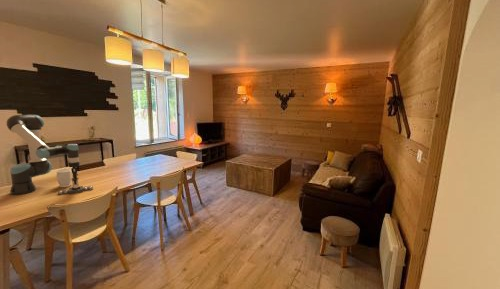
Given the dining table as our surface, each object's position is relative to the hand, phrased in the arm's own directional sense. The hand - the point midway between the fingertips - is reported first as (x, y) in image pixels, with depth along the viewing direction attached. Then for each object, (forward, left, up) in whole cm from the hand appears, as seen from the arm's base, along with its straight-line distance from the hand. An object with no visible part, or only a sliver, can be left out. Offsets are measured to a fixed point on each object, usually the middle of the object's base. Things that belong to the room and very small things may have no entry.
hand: (75, 185), depth 188 cm
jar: (-20, -8, -6) cm, 22 cm away
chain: (0, 0, -6) cm, 6 cm away
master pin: (0, 0, -6) cm, 6 cm away
